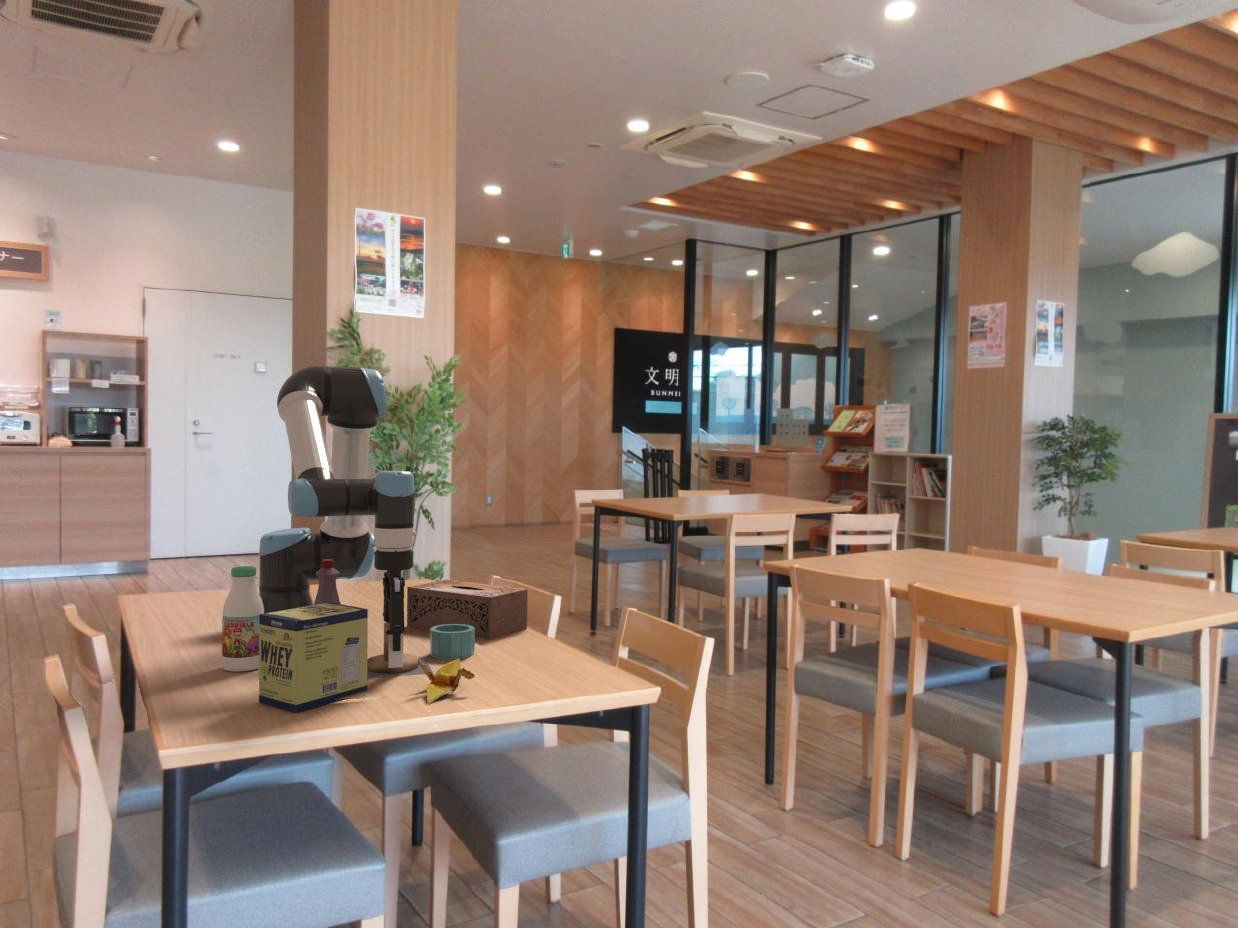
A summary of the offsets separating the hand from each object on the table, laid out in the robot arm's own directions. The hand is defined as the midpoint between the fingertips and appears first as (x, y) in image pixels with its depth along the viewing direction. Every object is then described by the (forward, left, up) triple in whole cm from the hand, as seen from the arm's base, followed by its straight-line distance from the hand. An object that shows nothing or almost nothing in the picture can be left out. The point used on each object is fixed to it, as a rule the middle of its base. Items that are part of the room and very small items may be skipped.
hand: (393, 660), depth 178 cm
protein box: (-15, -16, -2) cm, 22 cm away
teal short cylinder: (+13, +8, -2) cm, 15 cm away
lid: (0, 0, -1) cm, 1 cm away
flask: (-12, +18, -2) cm, 22 cm away
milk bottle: (-28, +10, -2) cm, 30 cm away
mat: (0, 0, -2) cm, 2 cm away
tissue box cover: (+21, +37, -2) cm, 43 cm away
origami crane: (+7, -18, -2) cm, 19 cm away
